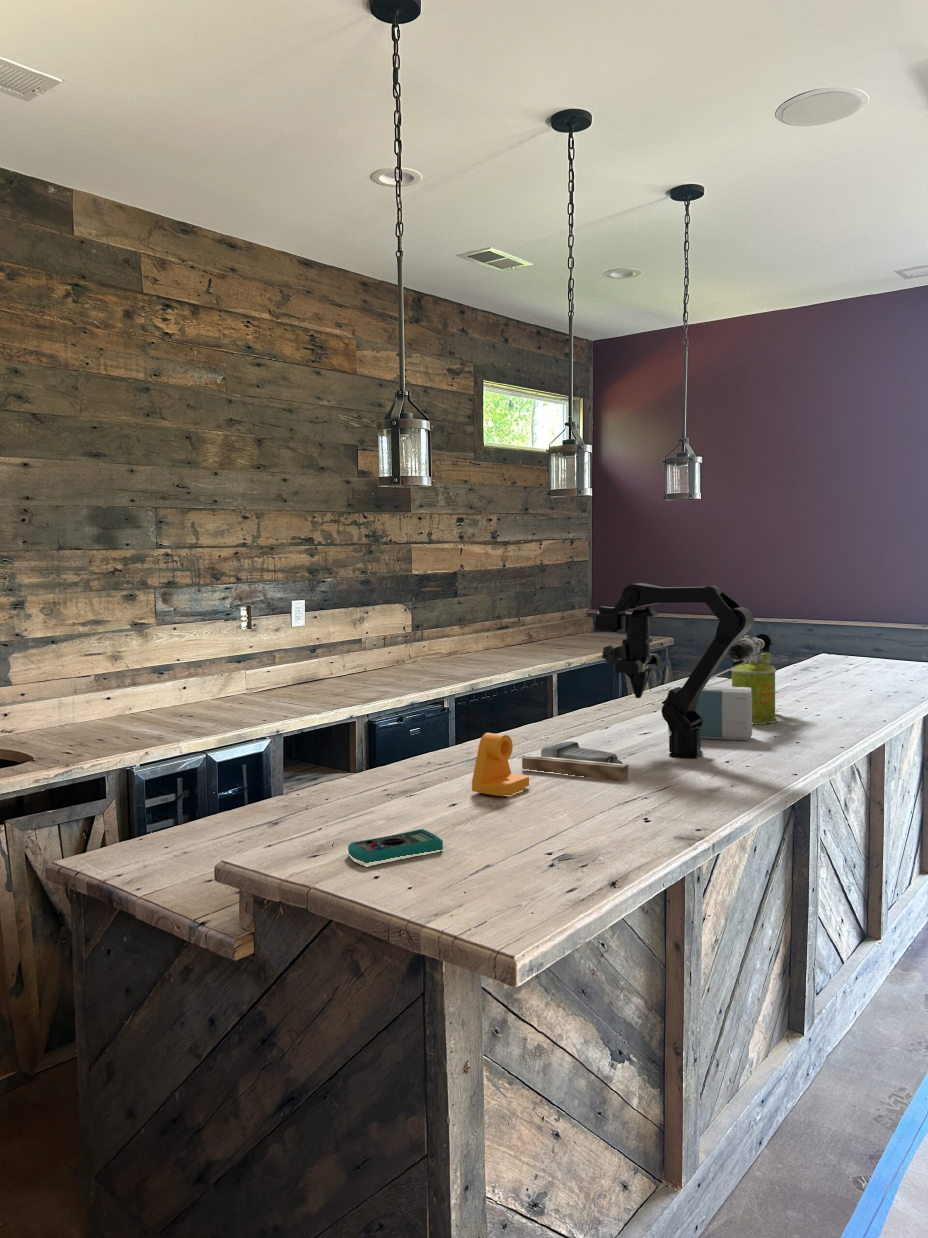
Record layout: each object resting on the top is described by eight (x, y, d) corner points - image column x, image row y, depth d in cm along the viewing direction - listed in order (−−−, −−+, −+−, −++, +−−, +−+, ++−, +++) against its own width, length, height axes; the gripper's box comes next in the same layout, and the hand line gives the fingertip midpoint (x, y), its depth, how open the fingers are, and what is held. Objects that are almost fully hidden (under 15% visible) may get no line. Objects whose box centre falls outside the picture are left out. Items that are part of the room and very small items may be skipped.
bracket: (500, 800, 182) (499, 741, 181) (472, 795, 186) (470, 737, 185) (531, 788, 190) (529, 732, 189) (503, 784, 195) (502, 728, 194)
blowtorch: (790, 713, 270) (790, 629, 268) (761, 732, 242) (761, 639, 240) (745, 710, 277) (745, 628, 275) (712, 728, 249) (712, 637, 247)
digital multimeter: (344, 859, 150) (344, 841, 149) (425, 843, 157) (424, 826, 157) (362, 871, 143) (361, 853, 143) (445, 854, 151) (444, 837, 150)
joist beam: (628, 778, 196) (628, 763, 196) (623, 781, 194) (623, 766, 194) (528, 768, 208) (527, 754, 208) (522, 770, 206) (522, 756, 205)
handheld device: (611, 777, 199) (611, 756, 199) (537, 765, 212) (536, 746, 212) (633, 768, 207) (633, 748, 206) (560, 758, 219) (559, 739, 219)
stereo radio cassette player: (667, 738, 238) (666, 662, 236) (672, 732, 245) (672, 659, 244) (751, 743, 230) (750, 664, 228) (753, 736, 237) (753, 660, 236)
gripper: (619, 630, 234) (620, 690, 235) (592, 637, 218) (593, 701, 219) (661, 631, 229) (662, 693, 230) (637, 638, 213) (638, 704, 214)
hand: (638, 697), depth 223 cm, fingers closed
